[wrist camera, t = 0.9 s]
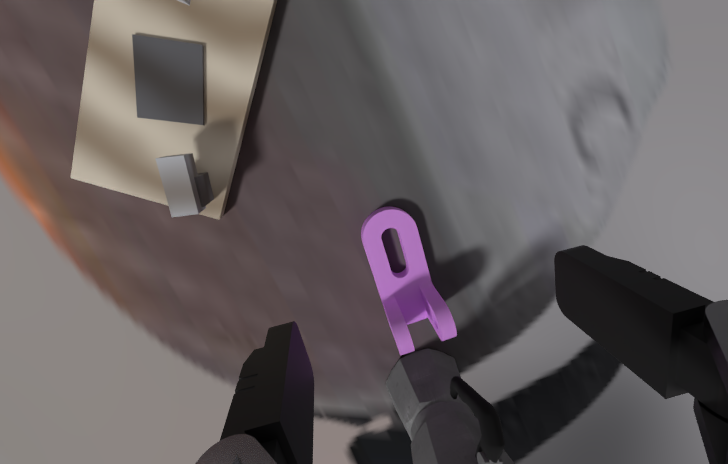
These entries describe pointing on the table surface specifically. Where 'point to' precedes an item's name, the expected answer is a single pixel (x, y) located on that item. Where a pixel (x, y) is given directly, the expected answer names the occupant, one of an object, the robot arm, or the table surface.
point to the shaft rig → (169, 98)
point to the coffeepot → (444, 412)
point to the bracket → (404, 279)
